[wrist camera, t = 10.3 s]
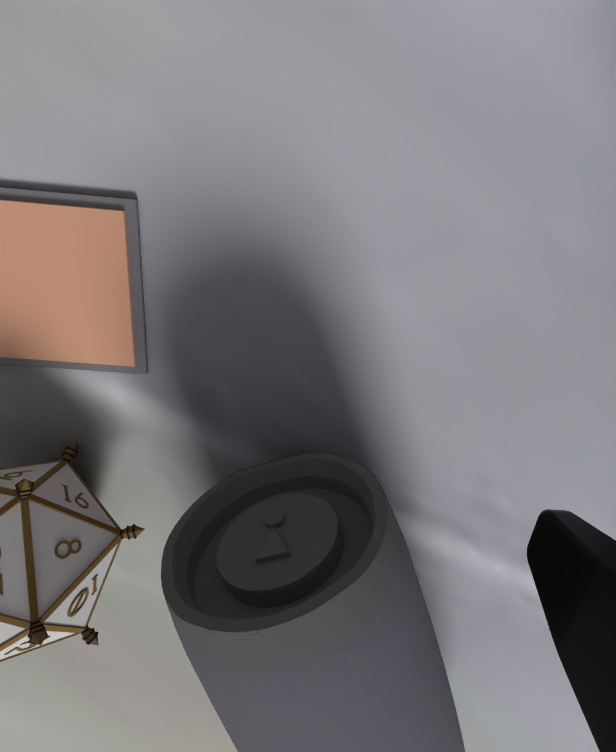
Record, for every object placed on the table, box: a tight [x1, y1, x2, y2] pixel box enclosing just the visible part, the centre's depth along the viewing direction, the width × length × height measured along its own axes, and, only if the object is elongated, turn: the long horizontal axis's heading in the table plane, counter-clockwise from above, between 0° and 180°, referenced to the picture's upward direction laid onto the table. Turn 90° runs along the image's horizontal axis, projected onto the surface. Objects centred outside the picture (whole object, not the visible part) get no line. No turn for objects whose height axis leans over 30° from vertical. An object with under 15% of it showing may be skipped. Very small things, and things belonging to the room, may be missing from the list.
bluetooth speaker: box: [161, 453, 465, 752], centre depth 22 cm, size 23×9×10 cm, turn 16°
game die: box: [0, 442, 145, 662], centre depth 19 cm, size 9×8×10 cm
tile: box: [0, 187, 148, 374], centre depth 18 cm, size 7×7×1 cm
